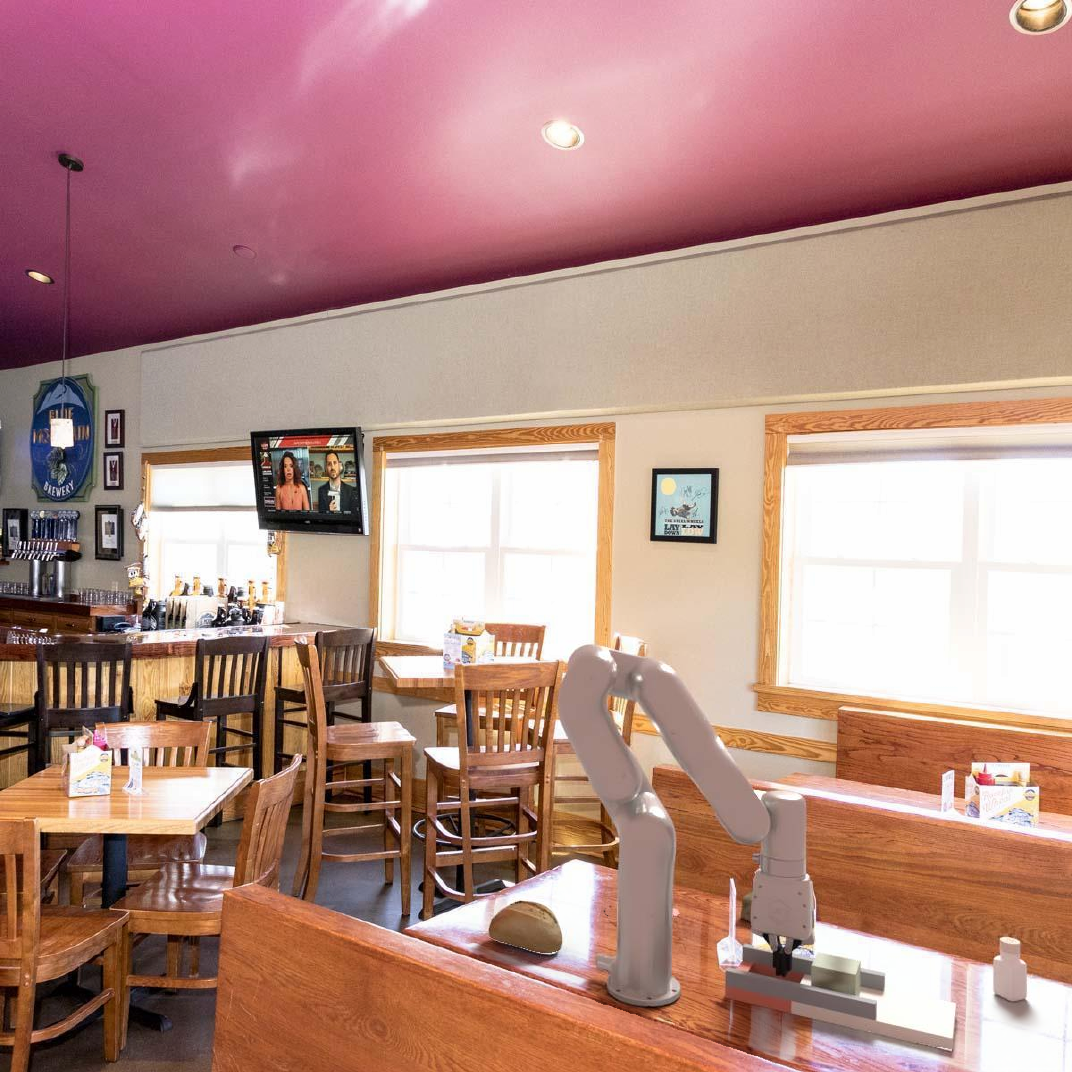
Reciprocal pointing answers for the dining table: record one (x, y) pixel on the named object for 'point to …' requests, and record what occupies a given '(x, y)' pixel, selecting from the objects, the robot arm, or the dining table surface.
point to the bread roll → (527, 927)
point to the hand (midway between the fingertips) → (782, 973)
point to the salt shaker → (1010, 971)
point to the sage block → (836, 974)
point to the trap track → (841, 1000)
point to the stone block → (746, 907)
